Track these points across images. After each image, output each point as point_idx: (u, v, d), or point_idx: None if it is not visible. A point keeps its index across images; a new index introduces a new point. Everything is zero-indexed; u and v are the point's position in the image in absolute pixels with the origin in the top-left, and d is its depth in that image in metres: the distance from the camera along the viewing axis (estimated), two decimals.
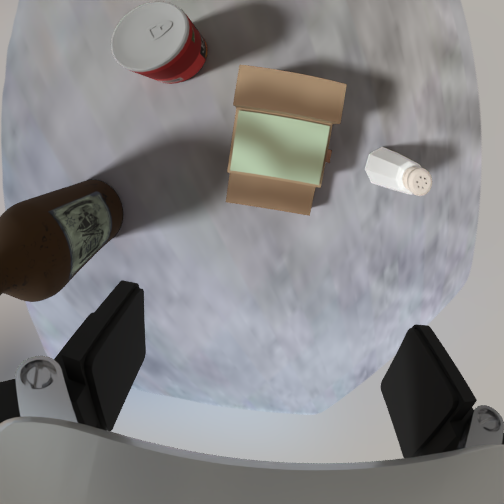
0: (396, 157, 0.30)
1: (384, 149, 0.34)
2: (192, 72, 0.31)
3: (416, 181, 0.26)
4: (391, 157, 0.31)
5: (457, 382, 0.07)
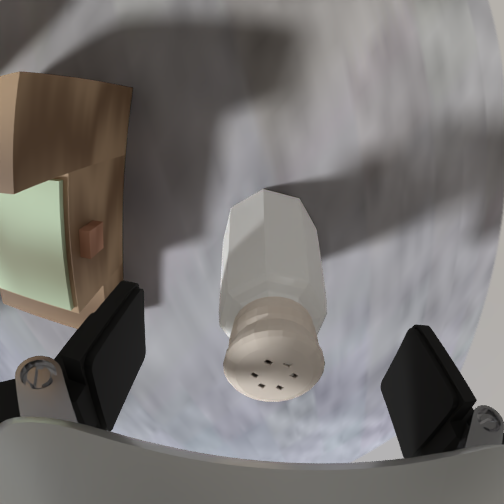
0: (252, 242, 0.12)
1: (259, 199, 0.16)
2: None
3: (249, 374, 0.08)
4: (245, 236, 0.13)
5: (457, 382, 0.07)
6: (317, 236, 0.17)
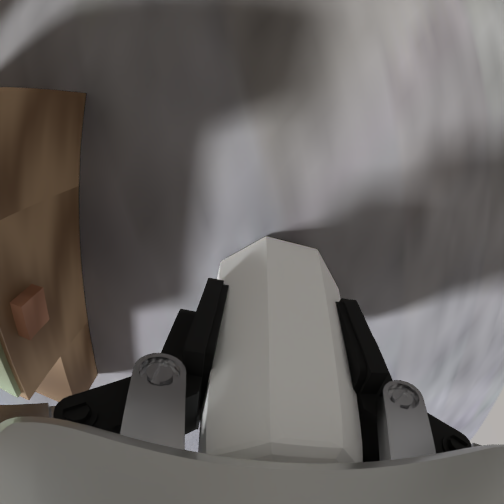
0: (248, 353, 0.07)
1: (260, 256, 0.11)
2: None
3: None
4: (238, 335, 0.08)
5: (369, 353, 0.08)
6: None
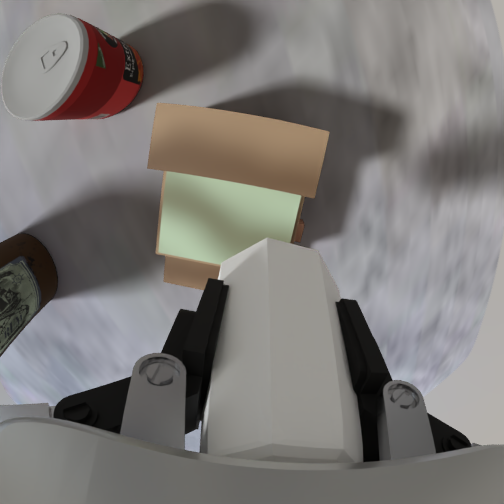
0: (249, 355, 0.07)
1: (261, 257, 0.11)
2: (119, 105, 0.22)
3: None
4: (239, 336, 0.08)
5: (369, 353, 0.08)
6: None
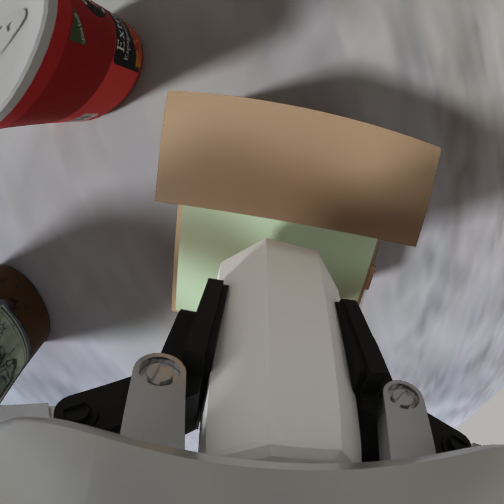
0: (248, 355, 0.07)
1: (260, 257, 0.11)
2: (110, 100, 0.16)
3: None
4: (238, 337, 0.08)
5: (369, 353, 0.08)
6: None
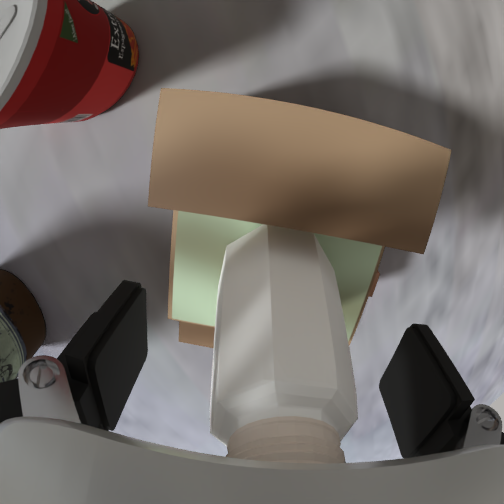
0: (253, 315, 0.08)
1: (262, 238, 0.12)
2: (104, 100, 0.15)
3: None
4: (244, 301, 0.09)
5: (455, 381, 0.07)
6: (336, 282, 0.13)
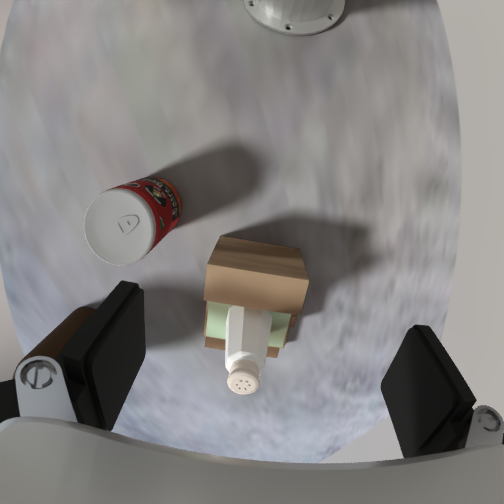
0: (237, 335, 0.29)
1: (242, 307, 0.33)
2: None
3: (235, 384, 0.25)
4: (235, 331, 0.30)
5: (457, 382, 0.07)
6: (271, 322, 0.34)
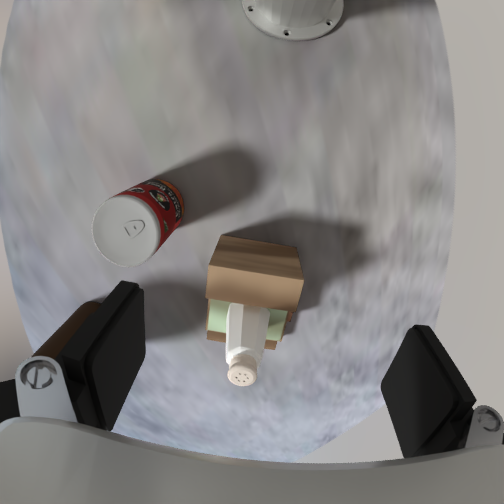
0: (237, 331, 0.32)
1: (241, 304, 0.36)
2: None
3: (235, 377, 0.28)
4: (235, 327, 0.33)
5: (457, 382, 0.07)
6: None
